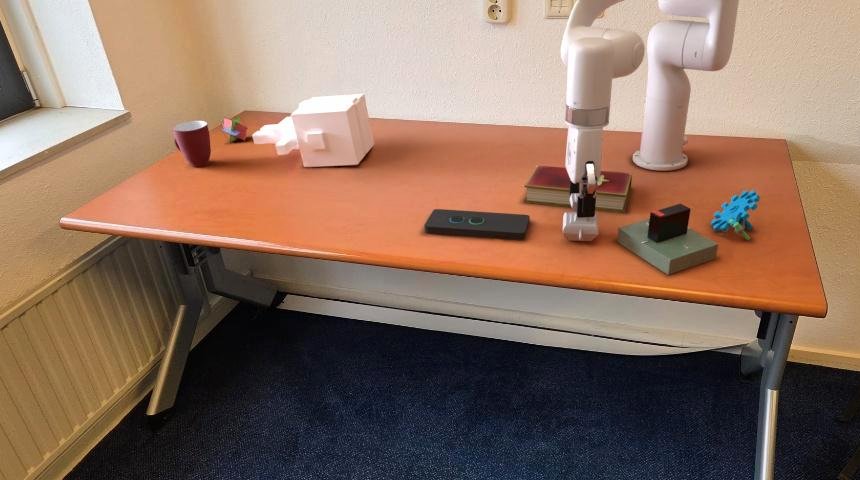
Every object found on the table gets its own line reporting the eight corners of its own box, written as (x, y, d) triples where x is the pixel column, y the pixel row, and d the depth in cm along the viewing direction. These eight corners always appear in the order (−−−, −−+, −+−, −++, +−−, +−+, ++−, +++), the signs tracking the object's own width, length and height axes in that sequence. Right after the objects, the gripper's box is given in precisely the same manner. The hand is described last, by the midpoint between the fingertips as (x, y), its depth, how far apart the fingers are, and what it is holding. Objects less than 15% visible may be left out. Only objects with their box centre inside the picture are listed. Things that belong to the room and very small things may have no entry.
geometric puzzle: (258, 129, 182) (238, 106, 180) (246, 137, 177) (225, 113, 174) (243, 143, 186) (223, 120, 183) (231, 152, 180) (209, 128, 178)
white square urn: (562, 226, 131) (564, 186, 126) (596, 226, 130) (599, 187, 126) (562, 247, 123) (564, 207, 119) (598, 248, 123) (601, 207, 118)
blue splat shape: (710, 206, 132) (755, 179, 125) (728, 226, 133) (774, 200, 127) (707, 238, 124) (755, 210, 117) (727, 259, 125) (775, 232, 119)
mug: (168, 167, 166) (157, 129, 161) (189, 156, 173) (178, 119, 167) (203, 171, 163) (192, 132, 158) (223, 159, 170) (213, 121, 164)
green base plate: (616, 242, 125) (617, 227, 123) (662, 227, 129) (664, 213, 127) (667, 275, 114) (670, 259, 112) (716, 258, 118) (719, 242, 116)
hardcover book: (536, 180, 150) (537, 163, 148) (630, 189, 144) (632, 171, 142) (524, 202, 141) (524, 184, 139) (624, 212, 135) (626, 193, 133)
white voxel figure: (286, 145, 182) (383, 139, 177) (246, 180, 162) (354, 176, 156) (272, 91, 175) (372, 84, 169) (228, 122, 154) (340, 114, 148)
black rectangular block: (676, 227, 122) (680, 202, 119) (686, 233, 120) (691, 207, 117) (647, 237, 119) (650, 211, 117) (656, 243, 117) (660, 216, 115)
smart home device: (434, 207, 136) (530, 213, 132) (434, 215, 137) (530, 221, 133) (423, 225, 130) (524, 233, 125) (423, 233, 130) (524, 241, 126)
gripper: (558, 100, 121) (555, 188, 131) (573, 131, 107) (568, 228, 116) (599, 98, 121) (593, 186, 131) (619, 130, 107) (611, 226, 116)
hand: (581, 206), depth 123 cm, fingers open, 8 cm apart
